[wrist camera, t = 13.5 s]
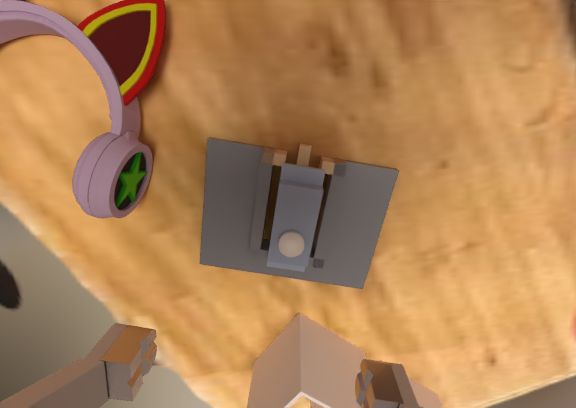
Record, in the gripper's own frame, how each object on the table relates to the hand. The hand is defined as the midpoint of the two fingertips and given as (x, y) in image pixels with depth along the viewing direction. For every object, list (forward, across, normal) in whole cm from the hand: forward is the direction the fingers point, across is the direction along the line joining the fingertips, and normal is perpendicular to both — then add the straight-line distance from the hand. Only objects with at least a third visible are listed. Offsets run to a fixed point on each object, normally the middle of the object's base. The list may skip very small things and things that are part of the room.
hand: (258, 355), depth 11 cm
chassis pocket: (+22, -1, +3) cm, 22 cm away
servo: (+22, -1, +2) cm, 22 cm away
